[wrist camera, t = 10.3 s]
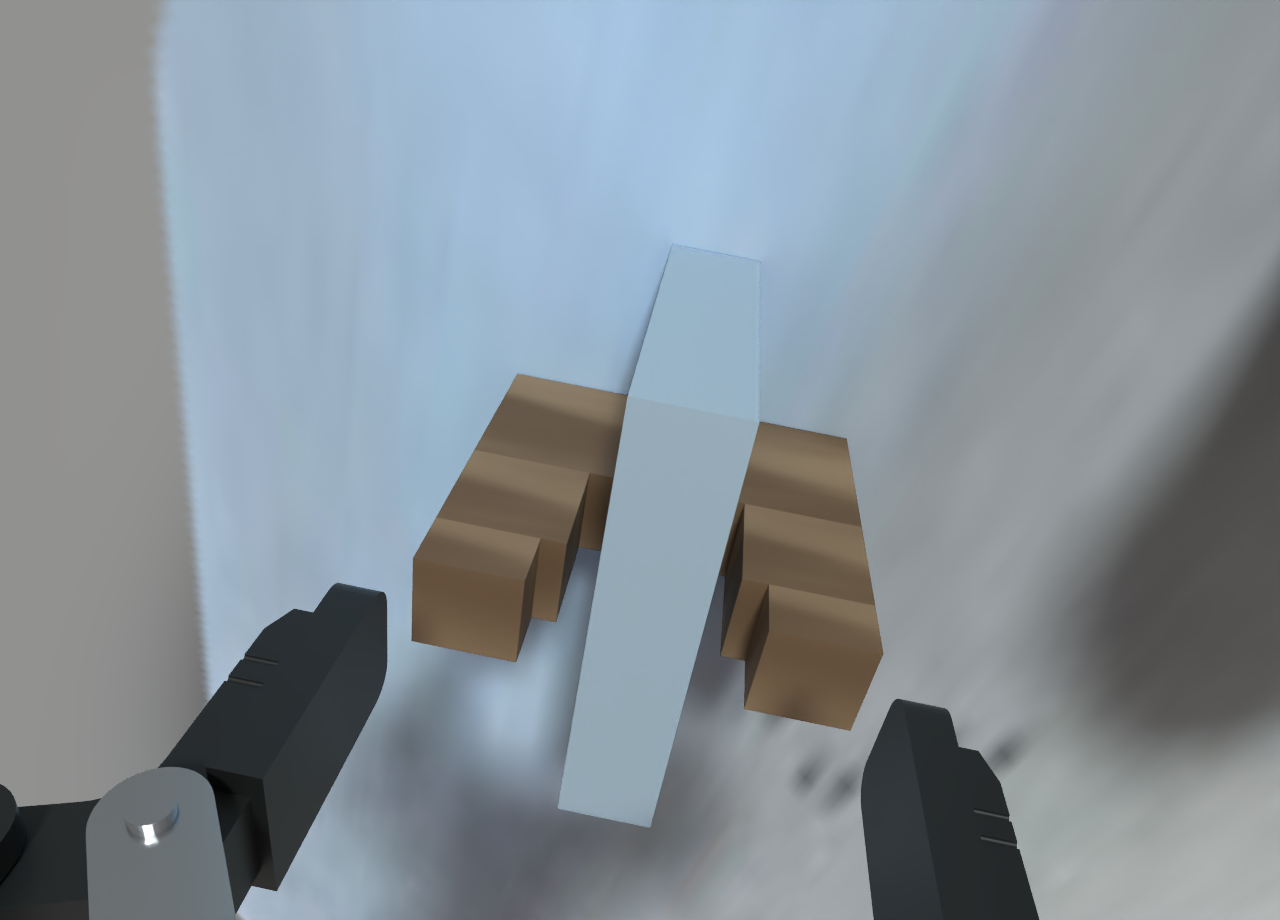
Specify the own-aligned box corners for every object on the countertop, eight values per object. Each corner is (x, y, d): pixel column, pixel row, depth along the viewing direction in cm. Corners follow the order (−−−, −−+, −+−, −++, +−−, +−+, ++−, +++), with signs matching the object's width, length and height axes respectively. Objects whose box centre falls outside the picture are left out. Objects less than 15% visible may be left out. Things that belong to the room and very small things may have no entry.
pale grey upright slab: (760, 261, 23) (759, 421, 15) (679, 596, 29) (649, 828, 22) (672, 244, 23) (627, 395, 15) (610, 582, 29) (557, 808, 22)
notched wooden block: (824, 503, 27) (850, 730, 19) (511, 441, 27) (411, 641, 19) (846, 438, 25) (883, 653, 18) (517, 373, 25) (413, 558, 18)
